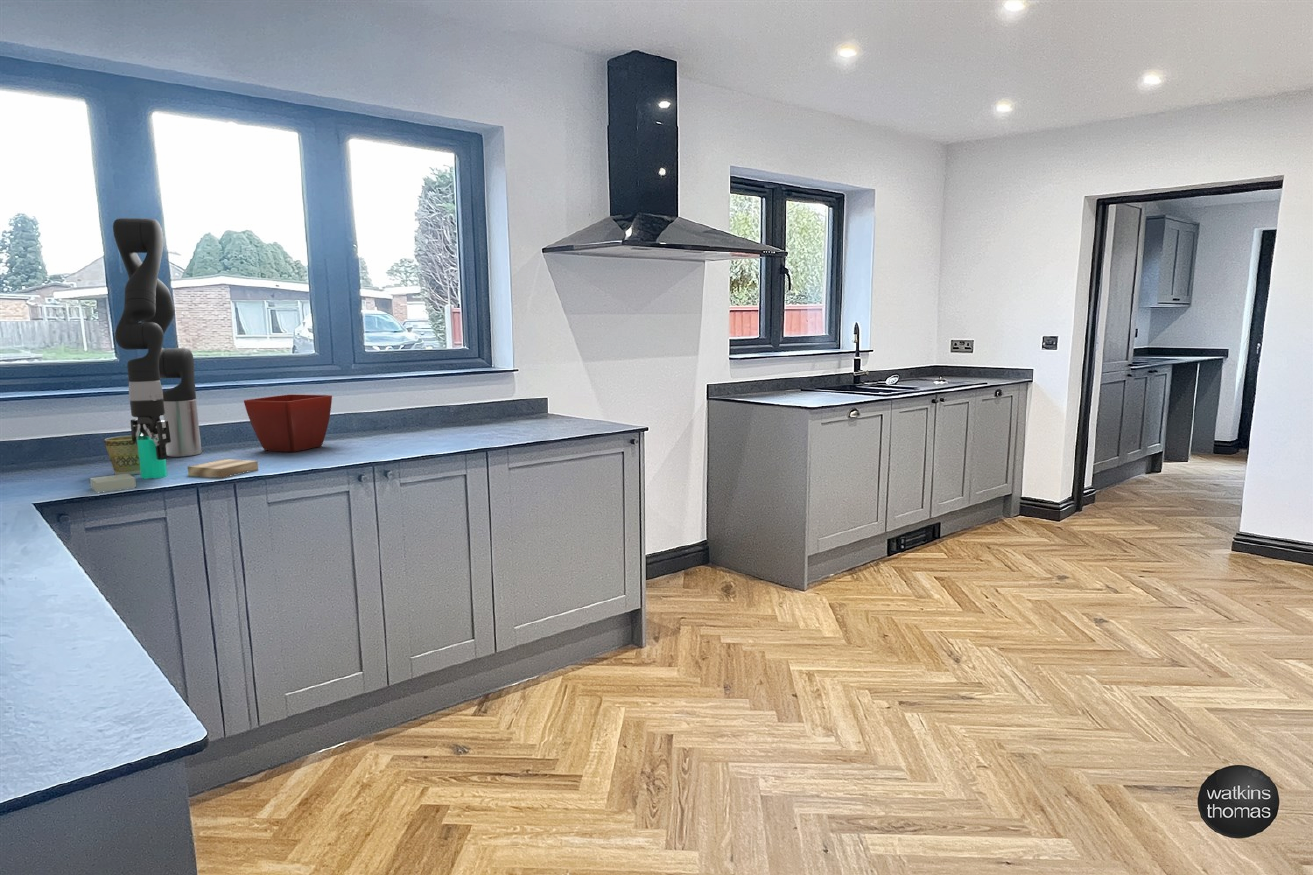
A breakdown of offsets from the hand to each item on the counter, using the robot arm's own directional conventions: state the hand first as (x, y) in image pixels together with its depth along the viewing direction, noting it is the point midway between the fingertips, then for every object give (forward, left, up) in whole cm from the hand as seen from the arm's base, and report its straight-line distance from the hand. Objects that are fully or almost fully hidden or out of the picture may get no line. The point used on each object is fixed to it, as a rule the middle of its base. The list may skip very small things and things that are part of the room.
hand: (153, 458), depth 209 cm
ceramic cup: (-12, +1, -5) cm, 13 cm away
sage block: (+5, -13, -6) cm, 15 cm away
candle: (-1, 0, -5) cm, 5 cm away
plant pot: (-8, +47, -5) cm, 48 cm away
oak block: (+11, +12, -6) cm, 17 cm away
